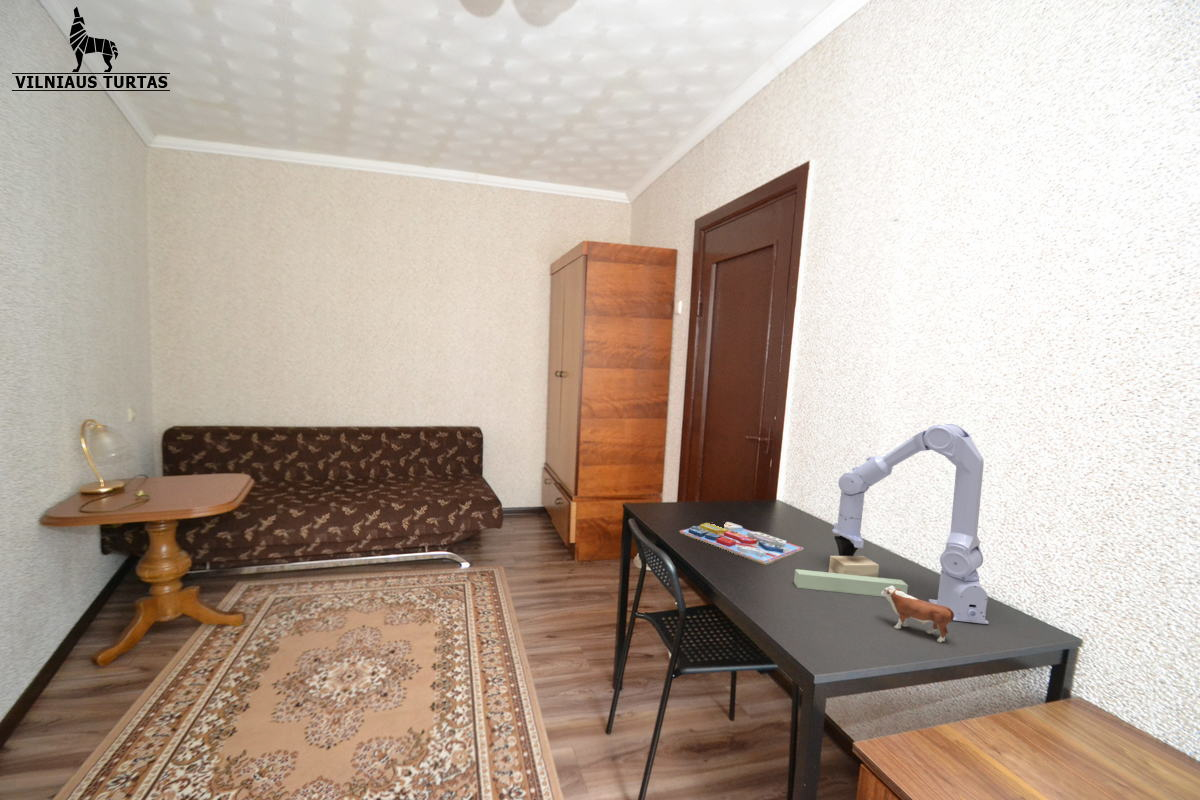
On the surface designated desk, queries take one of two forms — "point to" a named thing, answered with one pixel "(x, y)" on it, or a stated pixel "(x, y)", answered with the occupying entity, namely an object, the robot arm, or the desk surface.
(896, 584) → the pale green block
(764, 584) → the desk surface
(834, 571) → the beech block
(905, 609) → the bull figurine
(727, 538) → the puzzle board
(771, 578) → the desk surface
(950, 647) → the desk surface
